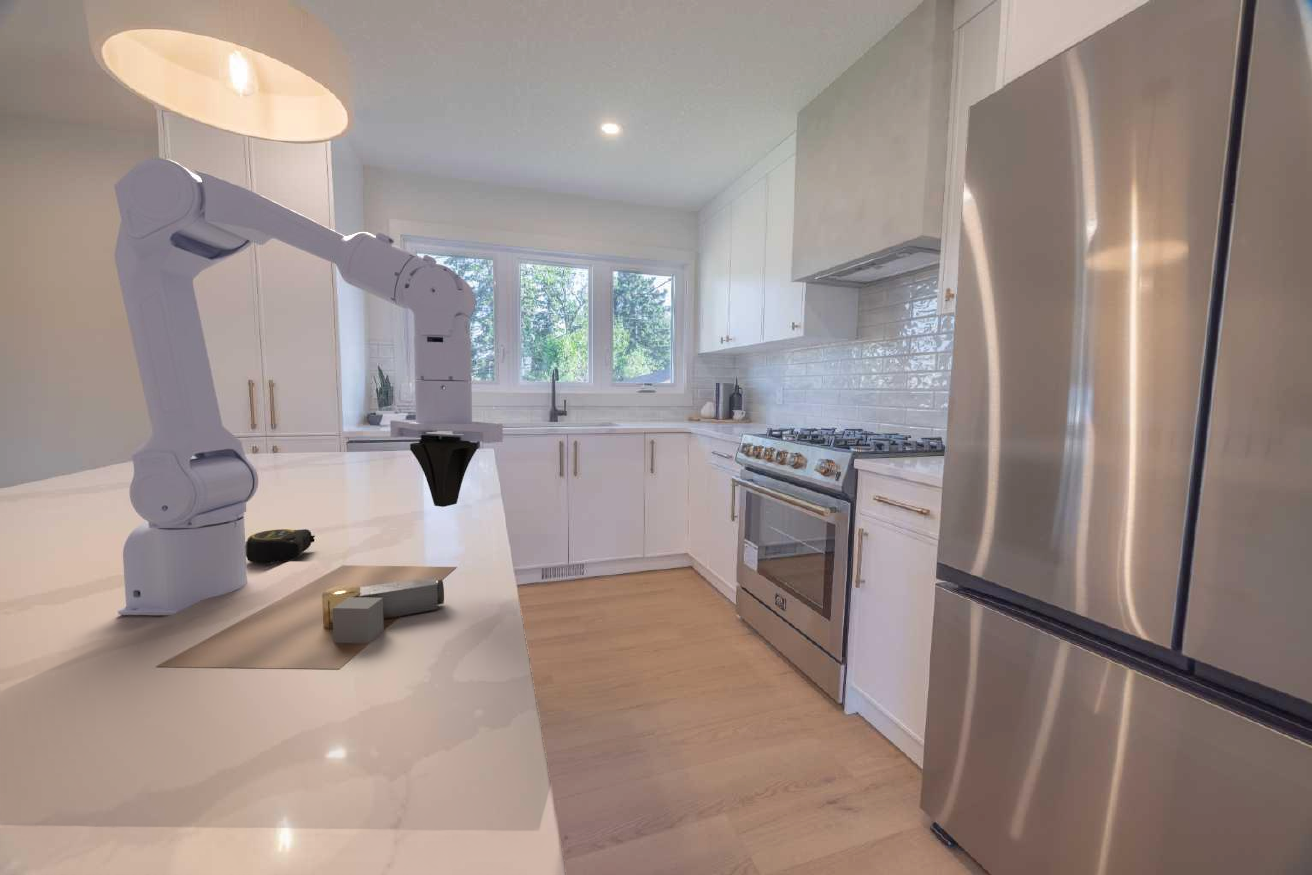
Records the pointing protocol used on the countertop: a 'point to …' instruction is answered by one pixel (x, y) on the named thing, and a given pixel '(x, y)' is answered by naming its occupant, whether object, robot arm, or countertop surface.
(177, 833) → the countertop surface
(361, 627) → the block
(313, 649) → the wooden board
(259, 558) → the tape measure
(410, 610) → the gold-capped grey rod
